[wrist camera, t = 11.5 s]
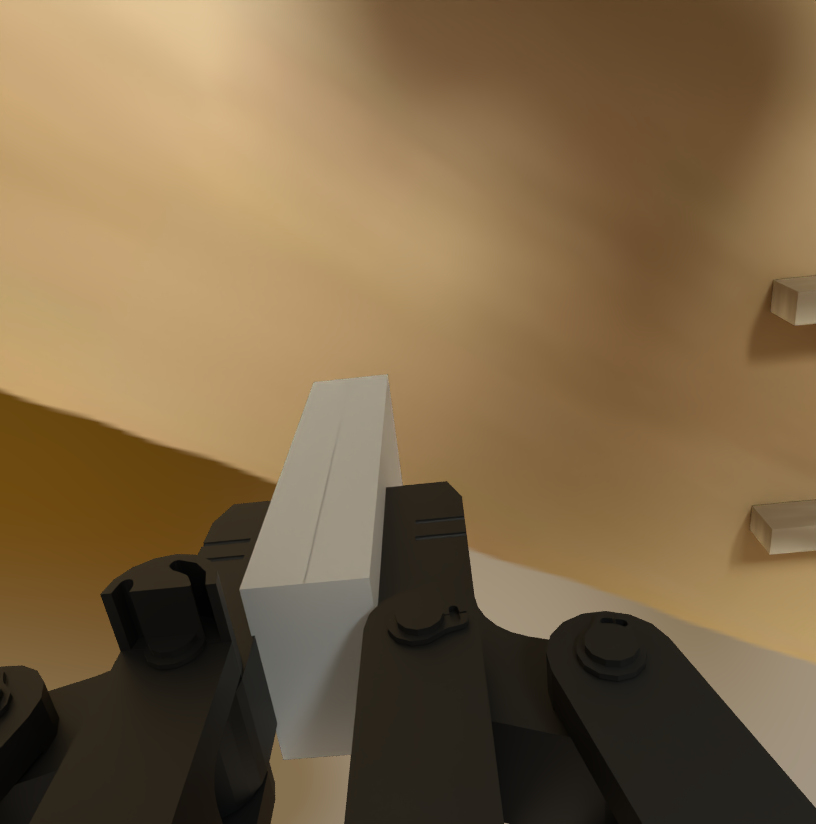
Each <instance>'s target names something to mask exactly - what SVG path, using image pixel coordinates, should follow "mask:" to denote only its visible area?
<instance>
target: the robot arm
mask: <svg viewBox="0 0 816 824" xmlns="http://www.w3.org/2000/svg"><path fill="white" fill-rule="evenodd" d="M101 597H102V600H103V603H104V606H105V609H106V612H107V614H108V617H109V620H110V623H111V626H112V628H113V631H114V634H115V637H116V640H117V642H118V645H119V648H120V651H121V652H120V654H119V656H118V658H117V660H116V661H115V663H114V665H113V667H112V669H111V671H108V672H106V673H103V674H101V675H98V676H96V677H92V678H89V679H86V680H83V681H80V682H76V683H73V684H70V685H67V686H64V687H61V688H58V689H54V690H51V691H48V690H47V688H46V685H45V683H44V681H43V679H42V678H41V676H40V675H39V673H38V671H37V670H34V669H31V668H28V667H25V666H5V667H0V824H270V823H271V818H272V813H273V808H274V803H275V781H274V778H273V774H272V770H271V767H270V763H269V760H270V755H271V750H272V746H273V742H274V737H275V733H277V737H278V741H279V745H280V749H281V753H282V756H283V760H289V759H301V758H314V757H327V756H340V755H351V761H350V772H349V781H348V792H347V802H346V812H345V822H344V824H504V823H509V824H816V808H815V807H814V806H813V804H812V803H811V802H810V801H809V800H808V799H807V797H806V796H805V795H804V794H803V793H802V792H801V790H800V789H799V788H798V787H797V786H796V785H795V784H794V782H793V781H792V780H791V779H790V778H789V776H788V775H787V774H786V773H785V772H784V771H783V770H782V768H781V767H780V766H779V765H778V764H777V763H776V761H775V760H774V759H773V758H772V757H771V756H770V754H769V753H768V752H767V751H766V750H765V749H764V747H763V746H762V745H761V744H760V743H759V742H758V740H757V739H756V738H755V737H754V736H753V735H752V733H751V732H750V731H749V730H748V729H747V728H746V727H745V725H744V724H743V723H742V722H741V721H740V720H739V719H738V717H737V716H736V715H735V714H734V713H733V711H732V710H731V709H730V708H729V707H728V706H727V705H726V703H725V702H724V701H723V700H722V699H721V698H720V696H719V695H718V694H717V693H716V692H715V691H714V690H713V688H712V687H711V686H710V685H709V684H708V683H707V681H706V680H705V679H704V678H703V677H702V675H701V674H700V673H699V672H698V671H697V670H696V668H695V667H694V666H693V665H692V664H691V663H690V662H689V660H688V659H687V658H686V657H685V656H684V654H683V653H682V652H681V651H680V650H679V649H678V648H677V646H676V645H675V644H674V643H673V642H672V641H671V639H670V638H669V637H667V636H666V635H665V634H664V633H663V632H661V631H660V630H659V629H657V628H656V627H655V626H654V625H653V624H651V623H649V622H646V621H644V620H642V619H639V618H637V617H634V616H632V615H629V614H622V613H615V612H607V611H603V612H594V613H585V614H581V615H579V616H576V617H574V618H572V619H569V620H567V621H565V622H563V623H562V624H561V625H560V626H559V627H558V628H557V629H556V630H555V631H554V632H553V633H552V634H551V636H550V639H549V640H547V639H541V638H535V637H528V636H524V635H520V634H516V633H512V632H510V631H508V630H505V629H503V628H501V627H499V626H497V625H495V624H494V623H493V622H491V621H490V620H489V619H487V618H486V617H485V616H484V615H483V613H482V612H481V611H480V609H479V608H478V606H477V603H476V600H475V597H474V589H473V581H472V574H471V566H470V558H469V550H468V542H467V535H466V526H465V519H464V510H463V503H462V496H461V495H460V494H459V493H458V492H457V491H456V490H455V489H454V488H453V487H452V486H451V485H450V484H449V483H448V482H447V481H446V482H436V483H426V484H415V485H405V486H403V483H402V476H401V468H400V461H399V454H398V446H397V439H396V431H395V424H394V416H393V409H392V402H391V394H390V387H389V379H388V374H386V375H376V376H367V377H357V378H348V379H338V380H329V381H320V382H314V383H313V385H312V388H311V391H310V394H309V396H308V399H307V402H306V405H305V408H304V410H303V413H302V416H301V419H300V422H299V424H298V427H297V430H296V433H295V436H294V438H293V441H292V444H291V447H290V450H289V452H288V455H287V458H286V461H285V463H284V466H283V469H282V472H281V475H280V477H279V480H278V483H277V486H276V489H275V492H274V494H273V497H272V500H271V501H264V502H254V503H243V504H234V505H233V506H231V507H230V508H229V509H228V510H227V511H226V512H225V513H223V514H222V516H220V517H219V518H218V519H217V520H216V521H215V522H214V523H213V524H212V526H211V528H210V530H209V532H208V535H207V537H206V539H205V541H204V547H201V549H200V552H199V553H198V555H185V554H175V555H170V556H165V557H160V558H155V559H152V560H150V561H147V562H145V563H143V564H140V565H138V566H135V567H133V568H131V569H129V570H128V571H126V572H125V573H123V574H122V575H120V576H119V577H117V578H116V579H114V580H113V581H112V582H111V583H110V584H109V586H108V587H107V588H106V589H105V590H104V591H103V592H102V593H101Z"/></svg>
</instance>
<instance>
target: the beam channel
mask: <svg viewBox="0 0 816 824" xmlns="http://www.w3.org/2000/svg"><path fill="white" fill-rule="evenodd" d="M771 312H772V313H773V314H775V315H777V316H779V317H780V318H782V319H784V320H786V321H787V322H789V323H791V324H793V325H794V326H797V325H806V324H816V275H814V276H805V277H796V278H787V279H778V280H773V291H772V301H771ZM750 531H751V532H752V533H753V534H754V536H755V537H756V538H757V539H758V541H759V542H760V543H761V544H762V546H763V547H764V548H765V549H766V551H767V552H768V553H769V554H770V555H771V554H782V553H794V552H805V551H816V500H808V501H797V502H786V503H776V504H765V505H754V506H752V512H751V523H750Z"/></svg>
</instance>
